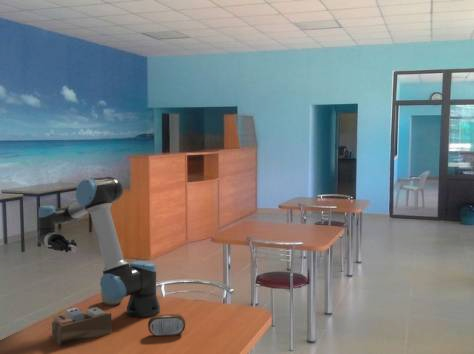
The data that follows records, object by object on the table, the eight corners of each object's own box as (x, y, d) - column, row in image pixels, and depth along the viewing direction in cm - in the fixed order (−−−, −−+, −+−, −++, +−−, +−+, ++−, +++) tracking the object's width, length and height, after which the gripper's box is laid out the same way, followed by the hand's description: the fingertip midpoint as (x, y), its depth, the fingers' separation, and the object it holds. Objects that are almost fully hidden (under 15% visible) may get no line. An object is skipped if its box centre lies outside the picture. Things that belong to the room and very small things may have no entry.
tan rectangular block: (54, 331, 207) (53, 316, 206) (64, 328, 210) (64, 313, 209) (62, 337, 201) (61, 321, 200) (72, 334, 204) (72, 319, 203)
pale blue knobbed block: (66, 323, 215) (65, 309, 215) (76, 321, 218) (76, 306, 217) (74, 329, 209) (73, 314, 209) (84, 327, 212) (84, 312, 211)
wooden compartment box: (52, 338, 205) (51, 319, 205) (101, 326, 219) (100, 307, 218) (61, 346, 198) (61, 326, 198) (111, 332, 212) (111, 313, 211)
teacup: (118, 307, 242) (117, 291, 241) (96, 306, 244) (96, 289, 244) (130, 298, 256) (129, 282, 255) (109, 296, 258) (109, 281, 257)
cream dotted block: (87, 323, 216) (86, 308, 216) (96, 320, 219) (96, 306, 218) (95, 328, 210) (95, 313, 210) (105, 326, 213) (105, 311, 212)
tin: (185, 332, 213) (185, 312, 212) (185, 335, 210) (185, 315, 209) (148, 334, 211) (147, 314, 210) (148, 337, 207) (147, 317, 207)
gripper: (68, 247, 250) (89, 256, 232) (41, 251, 242) (61, 260, 224) (68, 231, 250) (89, 239, 232) (41, 235, 241) (61, 243, 223)
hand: (75, 250), depth 228 cm, fingers closed
